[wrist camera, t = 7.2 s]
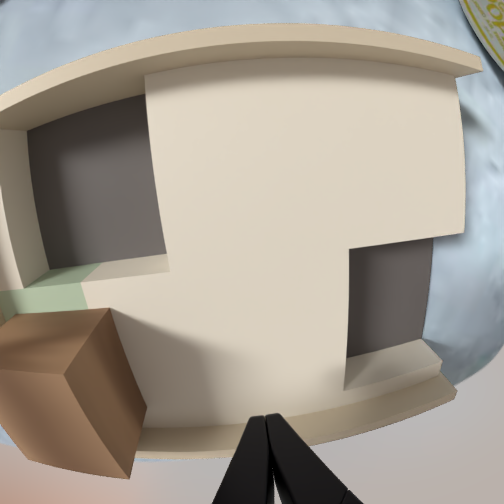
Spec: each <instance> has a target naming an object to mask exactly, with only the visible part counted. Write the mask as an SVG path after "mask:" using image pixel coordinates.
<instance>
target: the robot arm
mask: <svg viewBox="0 0 504 504" xmlns="http://www.w3.org/2000/svg"><path fill="white" fill-rule="evenodd" d="M272 468H273V469H272ZM273 475H274V476H273ZM274 480H275V484H276V487H277V490H278V493H279V497H280V500H281V502H282V504H363V503H362V502H361V501H360V500H359V499H358V498H357V497H356V496H355V495H354V494H353V493H352V492H351V491H350V490H348V488H347V487H346V486H345V485H344V484H343V483H342V482H341V481H340V480H339V479H338V478H337V477H336V476H335V475H334V474H333V472H332V471H331V470H330V469H329V468H328V467H327V466H326V465H325V464H324V463H323V462H322V461H321V460H320V458H319V457H318V456H317V455H316V454H315V453H314V452H313V451H312V450H311V449H310V447H309V446H308V445H307V444H306V443H305V442H304V441H303V439H302V438H301V437H300V436H299V435H298V434H297V433H296V431H295V430H294V429H293V428H292V427H291V426H290V424H289V423H288V422H287V421H286V420H285V419H284V417H283V416H282V415H281V414H280V413H273V414H267V415H265V416H264V415H258V416H251V417H250V418H249V419H248V422H247V424H246V427H245V429H244V432H243V434H242V436H241V439H240V441H239V444H238V446H237V448H236V451H235V453H234V455H233V458H232V460H231V462H230V464H229V467H228V469H227V471H226V474H225V476H224V478H223V480H222V483H221V485H220V487H219V489H218V491H217V493H216V496H215V498H214V500H213V502H212V504H274ZM347 490H348V491H347Z"/></svg>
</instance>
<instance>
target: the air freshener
mask: <svg viewBox="0 0 504 504" xmlns="http://www.w3.org/2000/svg"><path fill="white" fill-rule="evenodd" d="M459 2H460V4H461V6H462V9H463V11H464V13H465V15H466V17H467V19H468V21H469V23H470V25H471V26H472V28H473V30H474V31H475V33H476V35H477V36H478V38H479V39H480V41H481V43H482V44H483V46H484V47H485V48H486V50H487V51H488V52H489V54H490V55H491V57H492V58H493V59H494V60H495V62H496V63H497V64H498V65H499V66H500V68H501V69H502V70H503V71H504V0H459Z"/></svg>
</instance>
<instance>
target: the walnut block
mask: <svg viewBox="0 0 504 504" xmlns="http://www.w3.org/2000/svg"><path fill="white" fill-rule="evenodd" d="M146 411H147V405H146V403H145V401H144V399H143V396H142V394H141V392H140V389H139V387H138V385H137V382H136V380H135V377H134V375H133V372H132V370H131V367H130V365H129V362H128V360H127V357H126V354H125V352H124V349H123V346H122V343H121V340H120V338H119V335H118V332H117V329H116V326H115V323H114V320H113V317H112V313H111V310H110V307H109V308H97V309H85V310H71V311H57V312H42V313H24V314H15V315H14V316H13V317H12V318H11V319H9V320H8V321H7V322H6V323H5V324H4V325H3V326H2V327H0V424H1V426H2V427H3V428H4V430H5V431H6V432H7V434H8V435H9V436H10V438H11V439H12V440H13V442H14V443H15V444H16V445H17V447H18V448H19V449H20V450H21V451H22V453H23V454H24V455H25V456H26V457H27V459H28V460H32V461H35V462H39V463H42V464H46V465H50V466H54V467H58V468H62V469H67V470H72V471H76V472H82V473H87V474H93V475H99V476H106V477H113V478H122V479H130V475H131V471H132V466H133V462H134V458H135V454H136V450H137V446H138V442H139V438H140V434H141V430H142V426H143V422H144V418H145V414H146Z"/></svg>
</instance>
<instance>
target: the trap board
mask: <svg viewBox="0 0 504 504" xmlns="http://www.w3.org/2000/svg"><path fill="white" fill-rule="evenodd" d="M478 72H483V68H482V64H481V59H480V57H479V56H476V55H473V54H470V53H467V52H464V51H461V50H458V49H455V48H452V47H448V46H445V45H441V44H438V43H434V42H430V41H426V40H422V39H418V38H414V37H409V36H405V35H400V34H395V33H389V32H384V31H377V30H371V29H364V28H356V27H347V26H337V25H323V24H302V23H268V24H246V25H233V26H222V27H213V28H205V29H198V30H191V31H185V32H179V33H174V34H168V35H163V36H159V37H154V38H149V39H145V40H141V41H137V42H133V43H129V44H125V45H122V46H118V47H115V48H111V49H108V50H105V51H102V52H99V53H96V54H93V55H90V56H87V57H84V58H81V59H78V60H76V61H73V62H70V63H68V64H65V65H63V66H60V67H58V68H55V69H53V70H51V71H48V72H46V73H44V74H42V75H39V76H37V77H35V78H33V79H31V80H29V81H27V82H25V83H23V84H21V85H19V86H17V87H15V88H13V89H11V90H9V91H7V92H5V93H4V94H2V95H0V327H2V326H3V325H4V324H5V323H6V322H7V321H8V320H9V319H11V318H12V317H13V316H14V315H15V314H24V313H42V312H57V311H71V310H85V309H97V308H109V307H110V310H111V313H112V317H113V320H114V323H115V326H116V329H117V332H118V335H119V338H120V340H121V343H122V346H123V349H124V352H125V354H126V357H127V360H128V362H129V365H130V367H131V370H132V372H133V375H134V377H135V380H136V382H137V385H138V387H139V389H140V392H141V394H142V396H143V399H144V401H145V403H146V405H147V411H146V414H145V418H144V422H143V426H142V430H141V434H140V438H139V442H138V446H137V450H136V454H135V458H148V459H209V458H226V457H233V455H234V453H235V451H236V448H237V446H238V444H239V441H240V439H241V436H242V434H243V432H244V429H245V427H246V424H247V422H248V419H249V418H250V417H251V416H258V415H264V416H265V415H267V414H273V413H280V414H281V415H282V416H283V417H284V419H285V420H286V421H287V422H288V423H289V424H290V426H291V427H292V428H293V429H294V430H295V431H296V433H297V434H298V435H299V436H300V437H301V438H302V439H303V441H304V442H305V443H306V444H307V445H308V446H312V445H317V444H322V443H326V442H330V441H335V440H339V439H343V438H347V437H350V436H354V435H358V434H361V433H365V432H368V431H372V430H375V429H378V428H381V427H384V426H387V425H390V424H393V423H396V422H399V421H402V420H405V419H407V418H410V417H412V416H415V415H418V414H421V413H423V412H426V411H428V410H431V409H433V408H435V407H438V406H440V405H442V404H444V403H447V402H449V401H451V400H453V399H454V398H455V396H456V393H457V390H456V389H455V387H454V386H453V385H452V384H451V383H450V382H449V381H448V379H447V378H446V377H445V376H444V375H443V374H442V373H441V372H440V369H441V365H442V362H443V361H442V360H441V359H440V358H439V357H438V355H437V354H436V353H435V352H434V351H433V350H432V349H431V348H430V347H429V346H428V345H427V344H426V343H425V342H424V341H423V340H422V339H421V336H422V331H423V325H424V319H425V312H426V306H427V298H428V290H429V282H430V272H431V261H432V247H433V237H438V236H445V235H452V234H458V233H464V226H465V156H464V141H463V130H462V121H461V113H460V105H459V98H458V92H457V86H456V81H455V78H458V77H462V76H466V75H470V74H474V73H478Z"/></svg>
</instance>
